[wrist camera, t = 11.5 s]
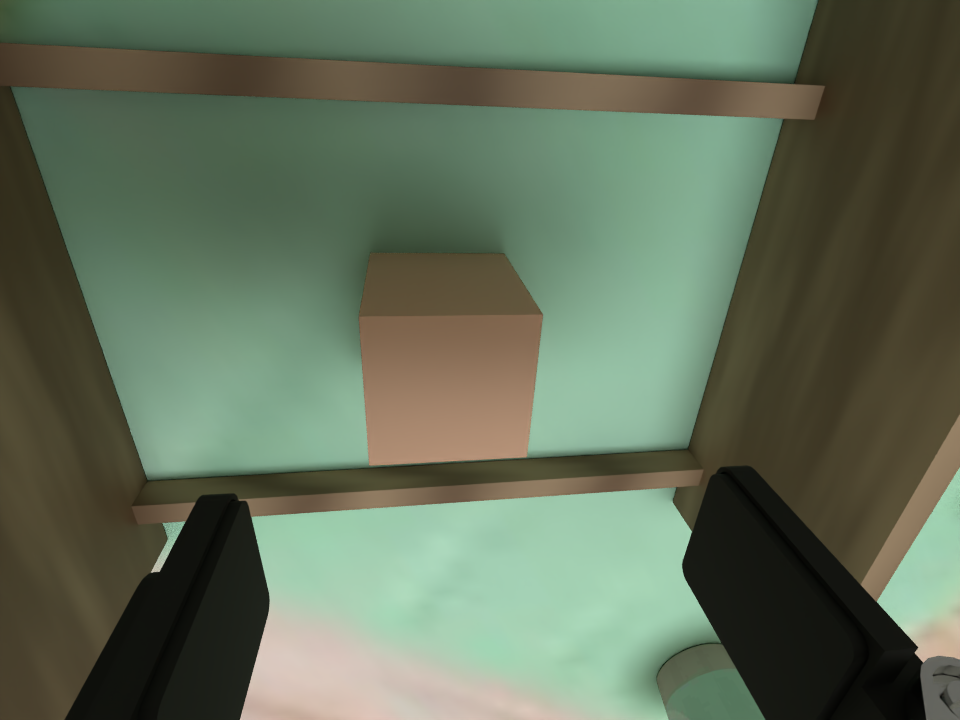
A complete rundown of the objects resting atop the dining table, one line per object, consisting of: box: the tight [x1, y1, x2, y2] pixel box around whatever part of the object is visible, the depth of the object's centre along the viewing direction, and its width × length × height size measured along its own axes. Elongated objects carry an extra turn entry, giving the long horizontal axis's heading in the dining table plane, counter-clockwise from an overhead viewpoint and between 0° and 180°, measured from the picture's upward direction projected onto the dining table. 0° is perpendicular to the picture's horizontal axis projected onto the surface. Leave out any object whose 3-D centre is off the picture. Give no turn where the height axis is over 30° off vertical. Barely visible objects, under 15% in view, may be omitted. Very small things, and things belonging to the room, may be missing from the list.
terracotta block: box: [359, 253, 543, 466], centre depth 17 cm, size 5×5×6 cm
